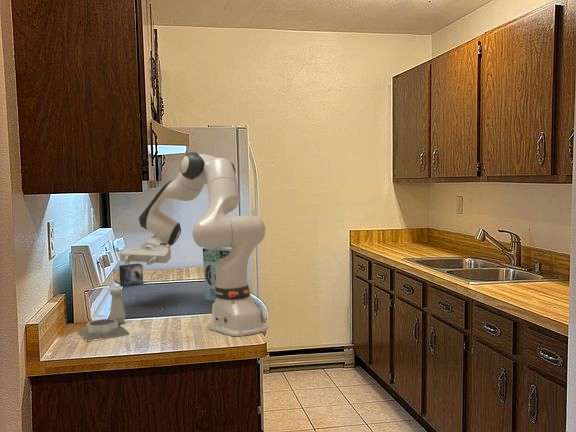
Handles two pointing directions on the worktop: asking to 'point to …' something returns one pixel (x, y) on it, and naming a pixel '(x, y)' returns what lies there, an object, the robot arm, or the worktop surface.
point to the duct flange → (102, 329)
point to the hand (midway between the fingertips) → (137, 262)
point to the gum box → (212, 269)
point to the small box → (131, 274)
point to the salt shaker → (117, 306)
